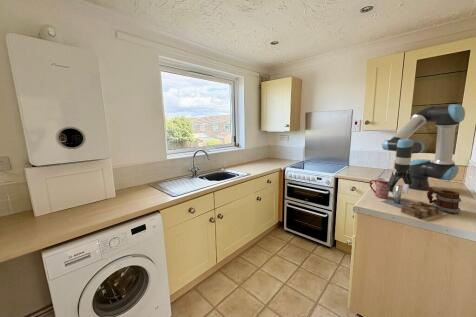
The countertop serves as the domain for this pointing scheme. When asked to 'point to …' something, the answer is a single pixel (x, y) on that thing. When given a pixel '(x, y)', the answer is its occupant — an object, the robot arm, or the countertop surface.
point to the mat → (391, 202)
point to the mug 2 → (445, 200)
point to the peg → (398, 194)
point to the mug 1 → (381, 187)
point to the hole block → (419, 210)
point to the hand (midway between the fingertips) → (398, 194)
